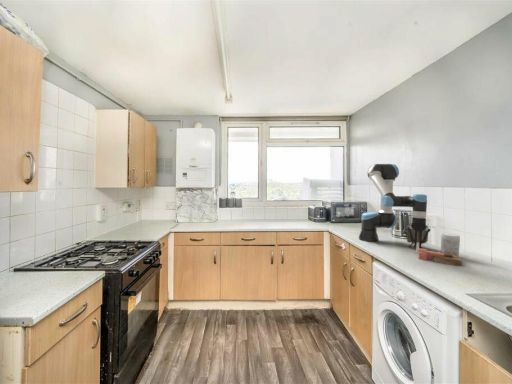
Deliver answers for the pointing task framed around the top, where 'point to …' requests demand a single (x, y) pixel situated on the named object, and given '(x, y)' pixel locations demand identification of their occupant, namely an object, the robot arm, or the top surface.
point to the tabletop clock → (414, 235)
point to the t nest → (448, 259)
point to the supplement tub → (450, 243)
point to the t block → (428, 254)
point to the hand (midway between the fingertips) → (417, 252)
